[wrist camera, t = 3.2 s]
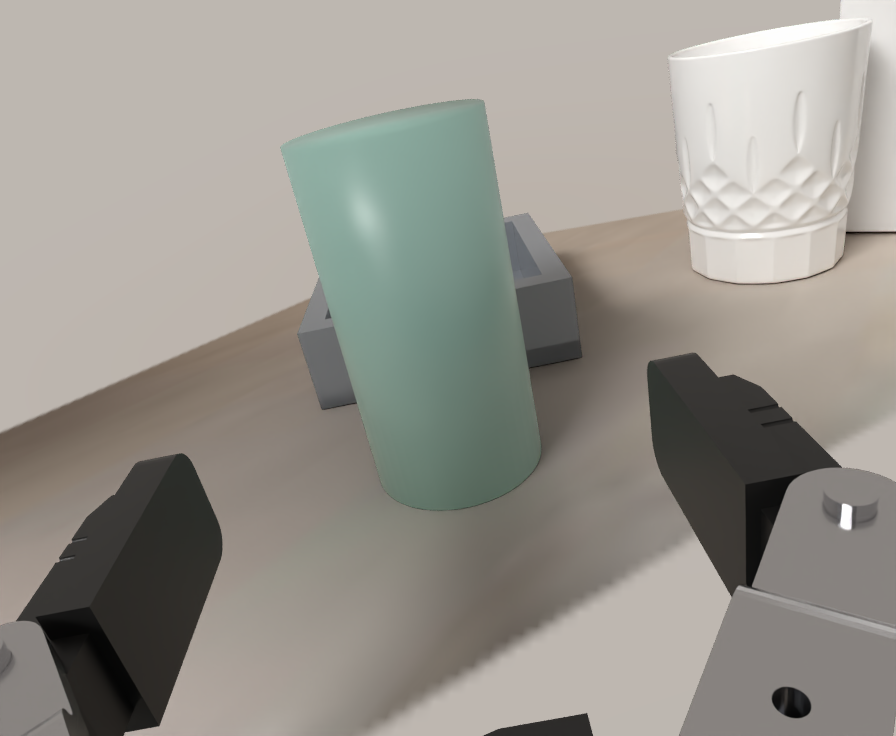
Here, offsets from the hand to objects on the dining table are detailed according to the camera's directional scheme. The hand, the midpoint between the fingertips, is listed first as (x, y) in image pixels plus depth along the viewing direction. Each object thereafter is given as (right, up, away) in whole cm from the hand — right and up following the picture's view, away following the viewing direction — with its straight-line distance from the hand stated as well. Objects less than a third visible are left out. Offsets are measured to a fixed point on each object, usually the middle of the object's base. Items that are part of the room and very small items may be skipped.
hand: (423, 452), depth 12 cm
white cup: (+16, +7, +22) cm, 28 cm away
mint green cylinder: (+1, -2, +11) cm, 12 cm away
